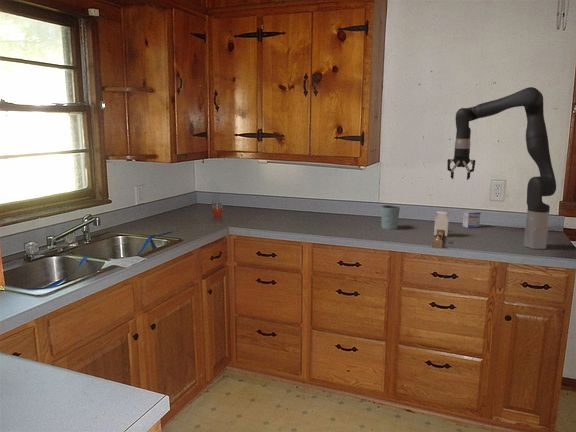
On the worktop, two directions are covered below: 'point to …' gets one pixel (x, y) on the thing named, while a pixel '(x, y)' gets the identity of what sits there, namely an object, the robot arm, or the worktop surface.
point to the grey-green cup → (390, 216)
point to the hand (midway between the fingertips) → (460, 179)
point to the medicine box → (471, 219)
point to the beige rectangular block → (441, 222)
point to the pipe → (439, 239)
